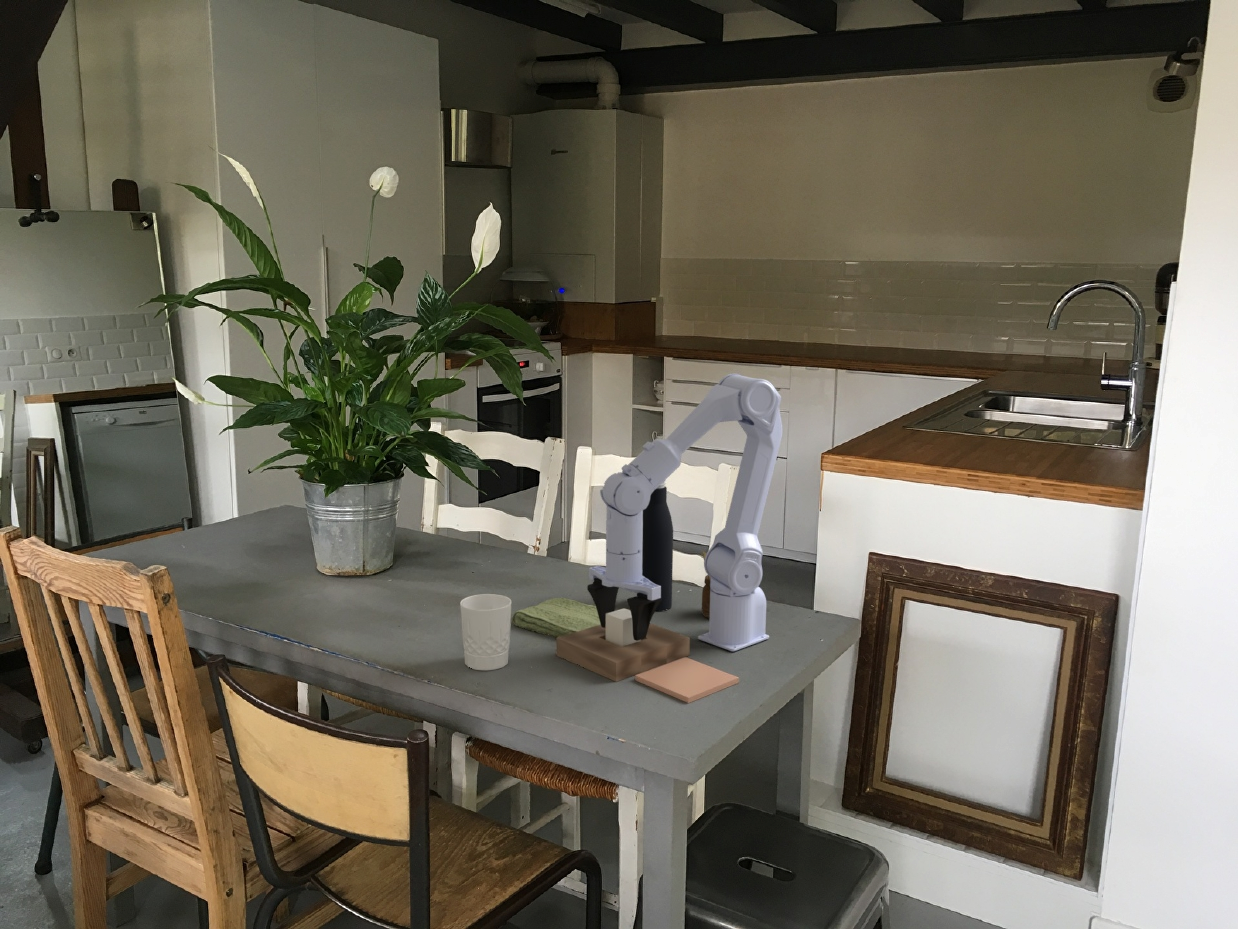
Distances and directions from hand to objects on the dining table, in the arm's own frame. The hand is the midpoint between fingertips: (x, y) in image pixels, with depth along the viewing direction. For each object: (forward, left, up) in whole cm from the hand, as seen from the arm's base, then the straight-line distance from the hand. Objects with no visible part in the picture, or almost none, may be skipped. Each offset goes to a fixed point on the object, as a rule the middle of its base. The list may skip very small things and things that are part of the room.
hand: (623, 632), depth 165 cm
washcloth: (-3, -16, -5) cm, 17 cm away
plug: (0, 0, -4) cm, 4 cm away
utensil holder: (-26, -3, -4) cm, 26 cm away
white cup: (+18, -12, -4) cm, 22 cm away
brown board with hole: (0, 0, -4) cm, 4 cm away
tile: (0, +14, -4) cm, 15 cm away
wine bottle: (-21, -14, -4) cm, 26 cm away
